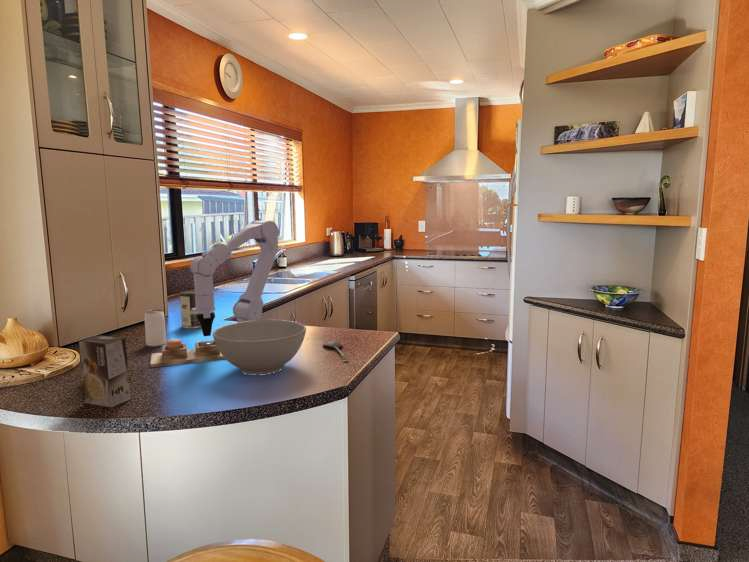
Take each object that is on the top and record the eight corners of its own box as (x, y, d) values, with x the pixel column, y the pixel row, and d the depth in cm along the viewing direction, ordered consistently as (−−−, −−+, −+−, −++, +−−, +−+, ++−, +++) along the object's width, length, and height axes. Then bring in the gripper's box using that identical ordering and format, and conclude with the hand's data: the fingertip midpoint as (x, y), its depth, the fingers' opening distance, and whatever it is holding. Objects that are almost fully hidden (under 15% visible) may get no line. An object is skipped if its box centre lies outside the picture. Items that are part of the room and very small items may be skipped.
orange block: (181, 347, 167) (181, 338, 167) (182, 351, 163) (181, 341, 163) (167, 349, 166) (166, 339, 165) (167, 352, 162) (166, 343, 161)
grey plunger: (214, 349, 171) (213, 340, 171) (215, 353, 167) (214, 344, 167) (200, 351, 170) (199, 342, 169) (201, 354, 166) (200, 345, 165)
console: (228, 348, 177) (227, 337, 176) (232, 358, 166) (231, 345, 165) (151, 356, 168) (151, 344, 168) (150, 367, 157) (149, 354, 156)
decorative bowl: (210, 362, 161) (208, 324, 160) (294, 352, 172) (293, 316, 170) (221, 390, 137) (218, 345, 135) (318, 376, 147) (317, 334, 146)
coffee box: (132, 399, 131) (127, 337, 129) (111, 408, 125) (105, 343, 123) (105, 394, 134) (99, 334, 132) (83, 403, 129) (77, 340, 126)
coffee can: (211, 322, 216) (209, 289, 214) (203, 328, 206) (201, 293, 204) (187, 322, 216) (185, 289, 214) (177, 328, 206) (175, 293, 204)
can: (159, 347, 179) (156, 313, 178) (142, 346, 181) (139, 312, 179) (170, 342, 186) (167, 309, 184) (153, 341, 187) (151, 308, 185)
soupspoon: (340, 346, 182) (321, 349, 180) (339, 337, 182) (320, 339, 180) (355, 362, 161) (335, 365, 160) (354, 351, 161) (334, 354, 159)
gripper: (190, 291, 171) (193, 331, 173) (192, 299, 158) (195, 342, 160) (212, 290, 174) (215, 329, 176) (216, 297, 160) (218, 339, 162)
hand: (207, 335), depth 168 cm, fingers closed
